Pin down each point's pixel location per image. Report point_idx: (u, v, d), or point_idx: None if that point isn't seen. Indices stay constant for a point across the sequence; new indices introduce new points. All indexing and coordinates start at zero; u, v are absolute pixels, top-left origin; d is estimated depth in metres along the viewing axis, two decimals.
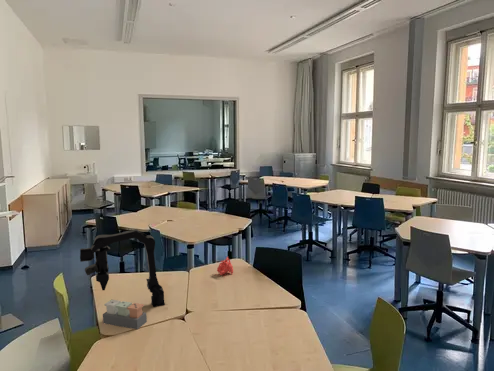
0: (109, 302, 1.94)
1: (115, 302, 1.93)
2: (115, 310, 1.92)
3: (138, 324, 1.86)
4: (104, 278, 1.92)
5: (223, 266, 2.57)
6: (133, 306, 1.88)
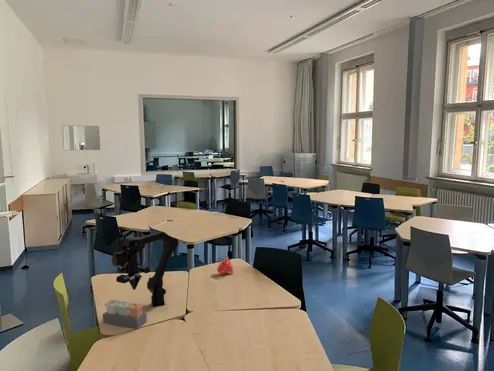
0: (109, 302, 1.94)
1: (115, 302, 1.93)
2: (115, 310, 1.92)
3: (138, 324, 1.86)
4: (121, 281, 1.92)
5: (223, 266, 2.57)
6: (133, 306, 1.88)
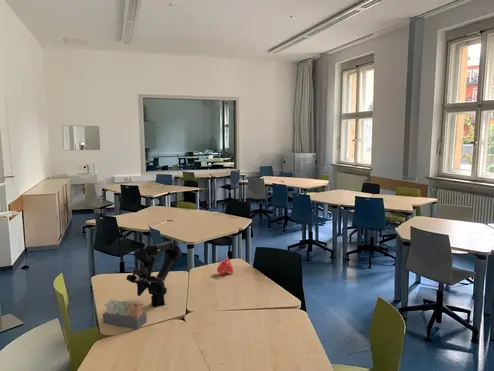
0: (109, 302, 1.94)
1: (115, 302, 1.93)
2: (115, 310, 1.92)
3: (138, 324, 1.86)
4: (159, 282, 1.95)
5: (223, 266, 2.57)
6: (133, 306, 1.88)
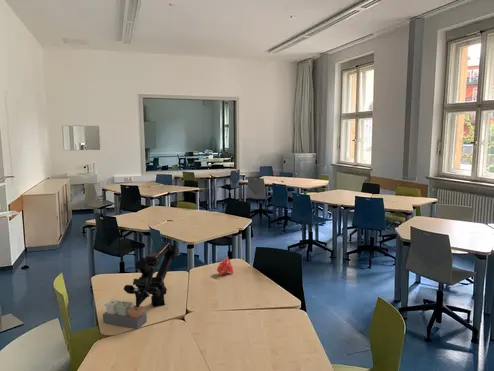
0: (109, 302, 1.94)
1: (115, 302, 1.93)
2: (115, 310, 1.92)
3: (138, 324, 1.86)
4: (159, 293, 1.94)
5: (223, 266, 2.57)
6: (133, 308, 1.89)
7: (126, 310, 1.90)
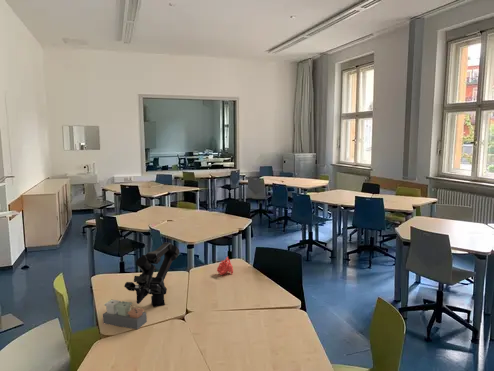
0: (109, 302, 1.94)
1: (115, 302, 1.93)
2: (115, 310, 1.92)
3: (138, 324, 1.86)
4: (159, 290, 1.94)
5: (223, 266, 2.57)
6: (133, 311, 1.89)
7: (126, 310, 1.90)
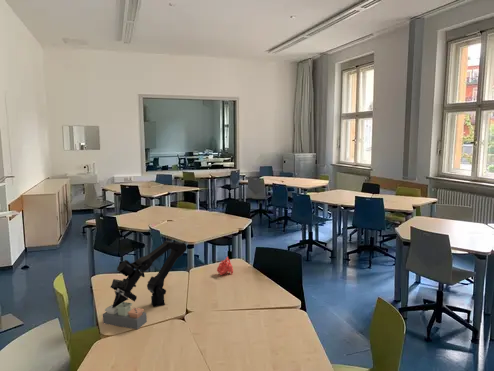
0: (109, 307, 1.94)
1: (115, 307, 1.94)
2: None
3: (138, 324, 1.86)
4: (133, 298, 1.91)
5: (223, 266, 2.57)
6: (133, 311, 1.89)
7: (126, 311, 1.90)
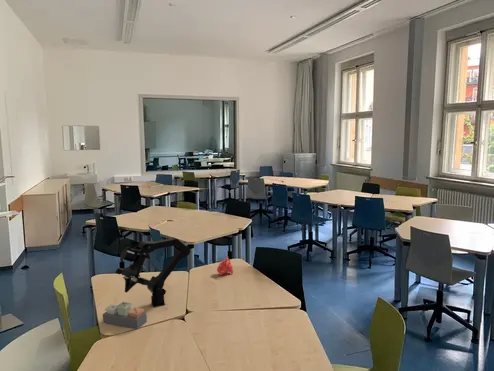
0: (109, 307, 1.94)
1: (115, 307, 1.94)
2: None
3: (138, 324, 1.86)
4: (147, 283, 1.99)
5: (223, 266, 2.57)
6: (133, 311, 1.89)
7: (126, 311, 1.90)
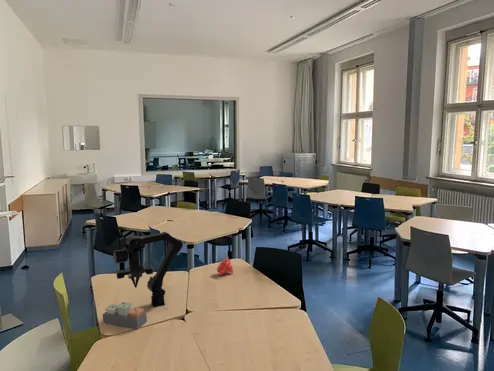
0: (109, 307, 1.94)
1: (115, 307, 1.94)
2: None
3: (138, 324, 1.86)
4: None
5: (223, 266, 2.57)
6: (133, 311, 1.89)
7: (126, 311, 1.90)
